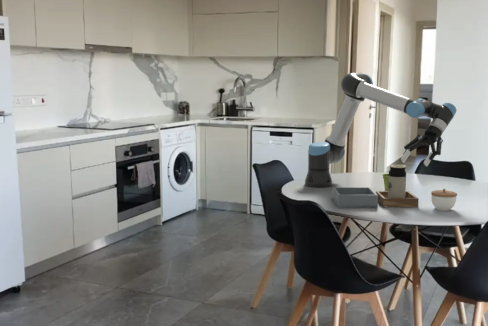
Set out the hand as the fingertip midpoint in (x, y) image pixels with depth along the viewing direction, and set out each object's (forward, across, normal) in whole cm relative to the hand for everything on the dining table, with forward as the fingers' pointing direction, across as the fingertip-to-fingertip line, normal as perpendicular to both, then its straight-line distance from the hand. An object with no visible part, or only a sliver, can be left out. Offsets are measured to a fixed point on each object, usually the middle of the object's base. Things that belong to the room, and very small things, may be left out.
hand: (413, 162), depth 256 cm
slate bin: (+32, +11, +7) cm, 35 cm away
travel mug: (+21, 0, -6) cm, 21 cm away
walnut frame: (+20, 0, -6) cm, 21 cm away
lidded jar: (+15, -20, -12) cm, 27 cm away
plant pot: (+8, +20, -19) cm, 29 cm away
